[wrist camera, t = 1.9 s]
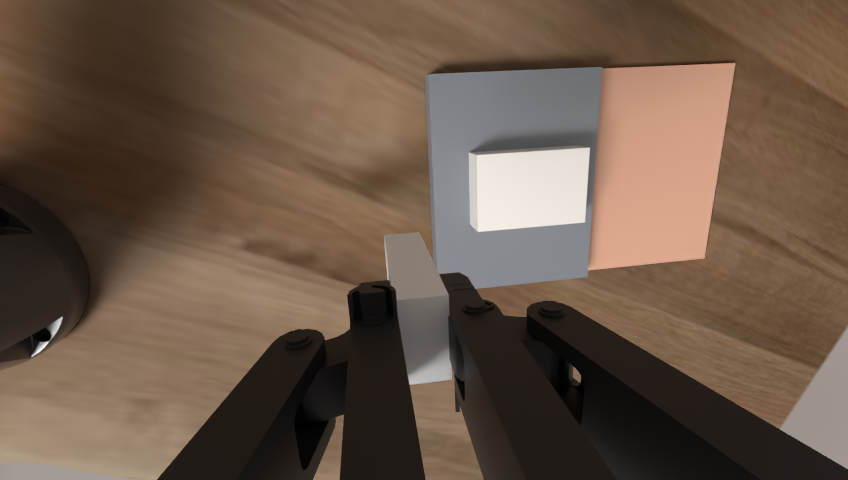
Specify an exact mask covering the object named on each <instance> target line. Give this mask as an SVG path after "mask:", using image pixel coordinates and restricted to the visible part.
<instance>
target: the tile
mask: <svg viewBox="0 0 848 480" xmlns="http://www.w3.org/2000/svg"><path fill="white" fill-rule="evenodd" d="M589 155H590V148H589V147H582V146H559V147H544V148H529V149H513V150H498V151H482V152H469V193H470V225H471V226H472V227H473V228H474V229H475V230H476V231H477V232H484V231H495V230H506V229H518V228H529V227H540V226H551V225H563V224H574V223H585V215H586V200H587V185H588V170H589Z"/></svg>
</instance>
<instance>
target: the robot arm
mask: <svg viewBox="0 0 848 480" xmlns="http://www.w3.org/2000/svg"><path fill="white" fill-rule="evenodd" d="M384 242H385V254H386V266H387V278H388V280H386V281H376V282H366V283H361V284H360V285H359V286H358V287H356V288H354V289H352V290H351V291H349V293H348V295H347V297H348V306H349V315H350V330H348V331H347V332H346V333H344V334H342V335H340V336H338V337H335V338H332V339H329V340H325V339H324V336H323V334H322V333H321V332H319V331H317V330H310V329H304V330H301V329H298V330H295V331H290V332H288V333H286V334H284V335H282V336H280V337H279V338H278V339H276V340H275V341H274V342H273V343H272V344H271V345H270V347H269V348H268V349H267V350H266V351H265V353H264V354H263V355H262V356H261V357H260V358H259V360H258V361H257V362H256V363H255V364H254V366H253V367H252V368H251V369H250V370H249V371H248V373H247V374H246V375H245V376H244V377H243V379H242V380H241V381H240V382H239V383H238V384H237V386H236V387H235V388H234V389H233V390H232V392H231V393H230V394H229V395H228V396H227V398H226V399H225V400H224V401H223V402H222V403H221V405H220V406H219V407H218V408H217V409H216V411H215V412H214V413H213V414H212V415H211V416H210V418H209V419H208V420H207V421H206V422H205V424H204V425H203V426H202V427H201V428H200V429H199V431H198V432H197V433H196V434H195V435H194V437H193V438H192V439H191V440H190V441H189V442H188V444H187V445H186V446H185V447H184V448H183V450H182V451H181V452H180V453H179V454H178V456H177V457H176V458H175V459H174V460H173V461H172V463H171V464H170V465H169V466H168V467H167V469H166V470H165V471H164V472H163V473H162V474H161V476H160V477H159V478H158V479H157V480H313V478H314V475H315V473H316V471H317V468H318V466H319V464H320V461H321V459H322V456H323V454H324V452H325V449H326V447H327V445H328V442H329V440H330V437H331V435H332V433H333V430H334V428H335V422H336V419H335V417H337V416H340V415H343V414H344V425H343V440H342V455H341V469H340V480H425V474H424V468H423V463H422V457H421V451H420V445H419V439H418V433H417V427H416V421H415V415H414V409H413V403H412V398H411V392H410V386H409V385H412V384H420V383H428V382H435V381H443V380H451V379H452V370H451V365H452V368H453V371H454V375H455V405H456V412H460V407H461V410H462V413H463V416H464V419H465V422H466V425H467V428H468V431H469V435H470V438H471V441H472V444H473V447H474V450H475V453H476V456H477V459H478V462H479V466H480V469H481V472H482V475H483V478H484V480H848V469H846V468H844V467H843V466H841V465H839V464H838V463H836V462H834V461H832V460H831V459H829V458H827V457H826V456H824V455H822V454H820V453H819V452H817V451H815V450H814V449H812V448H810V447H809V446H807V445H805V444H803V443H802V442H800V441H798V440H797V439H795V438H793V437H791V436H790V435H788V434H786V433H785V432H783V431H781V430H780V429H778V428H776V427H775V426H773V425H771V424H769V423H768V422H766V421H764V420H763V419H761V418H759V417H757V416H756V415H754V414H752V413H751V412H749V411H747V410H746V409H744V408H742V407H740V406H739V405H737V404H735V403H734V402H732V401H730V400H728V399H727V398H725V397H723V396H722V395H720V394H718V393H717V392H715V391H713V390H711V389H710V388H708V387H706V386H705V385H703V384H701V383H699V382H698V381H696V380H694V379H693V378H691V377H689V376H688V375H686V374H684V373H682V372H681V371H679V370H677V369H676V368H674V367H672V366H671V365H669V364H667V363H665V362H664V361H662V360H660V359H659V358H657V357H655V356H653V355H652V354H650V353H648V352H647V351H645V350H643V349H642V348H640V347H638V346H636V345H635V344H633V343H631V342H630V341H628V340H626V339H624V338H623V337H621V336H619V335H618V334H616V333H614V332H613V331H611V330H609V329H607V328H606V327H604V326H602V325H601V324H599V323H597V322H595V321H594V320H592V319H590V318H589V317H587V316H585V315H584V314H582V313H580V312H578V311H577V310H575V309H573V308H572V307H570V306H567V305H565V304H562V303H557V302H555V301H550V302H549V301H543V302H536V303H534V304H531V305H530V306H529V307H528V308H527V317H513V316H505V315H503V314H502V312H501V311H500V309H499V308H498V307H497V306H496V305H495V304H494V303H493V302H490V301H488V300H483V299H482V298H481V297H480V295H479V294H478V292H477V290H476V289H475V287H474V286H473V284H472V283H471V281H470V280H469V278H468V277H467V276H465V275H463V274H461V273H459V272H456V273H446V274H439V273H438V271H437V269H436V267H435V265H434V262H433V260H432V258H431V256H430V254H429V252H428V250H427V248H426V245H425V243H424V241H423V239H422V237H421V235H420V233H419V232H415V233H403V234H392V235H384ZM88 294H89V278H88V271H87V267H86V263H85V261H84V258H83V255H82V253H81V251H80V249H79V247H78V245H77V243H76V242H75V240H74V239H73V237H72V236H71V235H70V233H69V232H68V231H67V229H66V228H65V227H64V226H63V225H62V224H61V223H60V222H59V221H58V220H57V219H56V218H55V217H54V216H53V215H52V214H51V213H50V212H49V211H47V210H46V209H45V208H44V207H42V206H41V205H39V204H38V203H36V202H35V201H33V200H32V199H30V198H28V197H27V196H25V195H23V194H21V193H19V192H17V191H15V190H13V189H10V188H8V187H5V186H2V185H0V370H3V369H6V368H9V367H12V366H15V365H18V364H21V363H23V362H26V361H28V360H30V359H32V358H34V357H36V356H38V355H39V354H41V353H42V352H44V351H45V350H47V349H48V348H50V347H51V346H52V345H54V344H55V343H56V342H58V341H59V340H61V339H62V338H63V337H65V336H66V335H67V334H68V333H69V332H70V331H71V330H72V329H73V328H74V327H75V325H76V324H77V323H78V321H79V320H80V318H81V316H82V314H83V312H84V310H85V307H86V304H87V300H88ZM573 366H574V367H575V368H576V369H577V370H578V371H579V373H580V375H581V383H580V382H578V381H577V380H575V379H574V378H573Z"/></svg>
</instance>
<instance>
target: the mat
mask: <svg viewBox="0 0 848 480" xmlns="http://www.w3.org/2000/svg"><path fill="white" fill-rule="evenodd" d="M734 69H735V63H722V64H699V65H675V66H651V67H628V68H604V69H602V79H601V93H600V107H599V121H598V135H597V149H596V163H595V177H594V191H593V205H592V219H591V233H590V247H589V261H588V270H595V269H605V268H615V267H624V266H634V265H644V264H654V263H663V262H673V261H683V260H692V259H702V258H705V251H706V245H707V239H708V232H709V226H710V220H711V214H712V207H713V201H714V195H715V189H716V182H717V176H718V170H719V163H720V157H721V151H722V145H723V138H724V132H725V126H726V120H727V113H728V107H729V101H730V94H731V88H732V82H733V76H734Z"/></svg>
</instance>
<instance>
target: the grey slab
mask: <svg viewBox="0 0 848 480" xmlns="http://www.w3.org/2000/svg"><path fill="white" fill-rule="evenodd" d="M601 79H602V67H586V68H562V69H538V70H514V71H490V72H466V73H442V74H428V75H426V76H425V92H426V113H427V135H428V156H429V177H430V198H431V220H432V241H433V262H434V265H435V267H436V269H437V271H438V273H439V274H446V273H456V272H459V273H461V274H463V275H465V276H467V277H468V278H469V280H470V281H471V283H472V284H473V286H474V287H475V289H477V288H487V287H496V286H506V285H515V284H525V283H534V282H544V281H553V280H563V279H573V278H582V277H587V275H588V261H589V247H590V233H591V219H592V205H593V191H594V177H595V163H596V149H597V135H598V121H599V107H600V93H601ZM559 146H582V147H589V148H590V155H589V170H588V185H587V200H586V215H585V223H574V224H563V225H551V226H540V227H529V228H518V229H506V230H495V231H484V232H477V231H476V230H475V229H474V228H473V227H472V226H471V225H470V193H469V152H482V151H498V150H513V149H529V148H544V147H559Z"/></svg>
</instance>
